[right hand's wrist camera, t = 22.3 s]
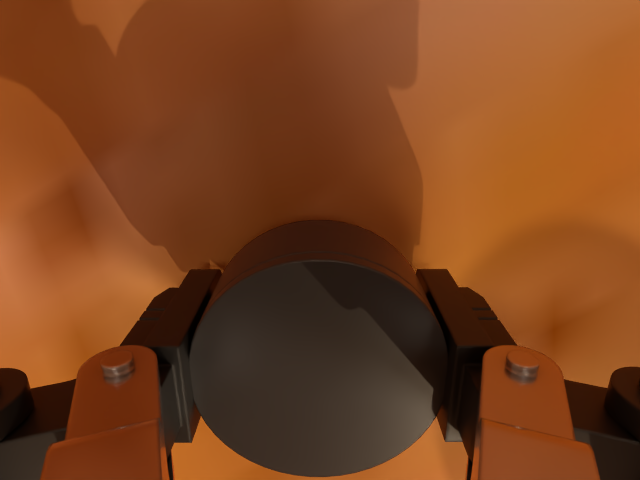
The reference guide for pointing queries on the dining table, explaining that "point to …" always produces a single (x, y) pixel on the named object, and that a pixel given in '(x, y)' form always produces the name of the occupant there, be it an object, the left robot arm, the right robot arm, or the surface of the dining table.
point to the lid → (318, 352)
